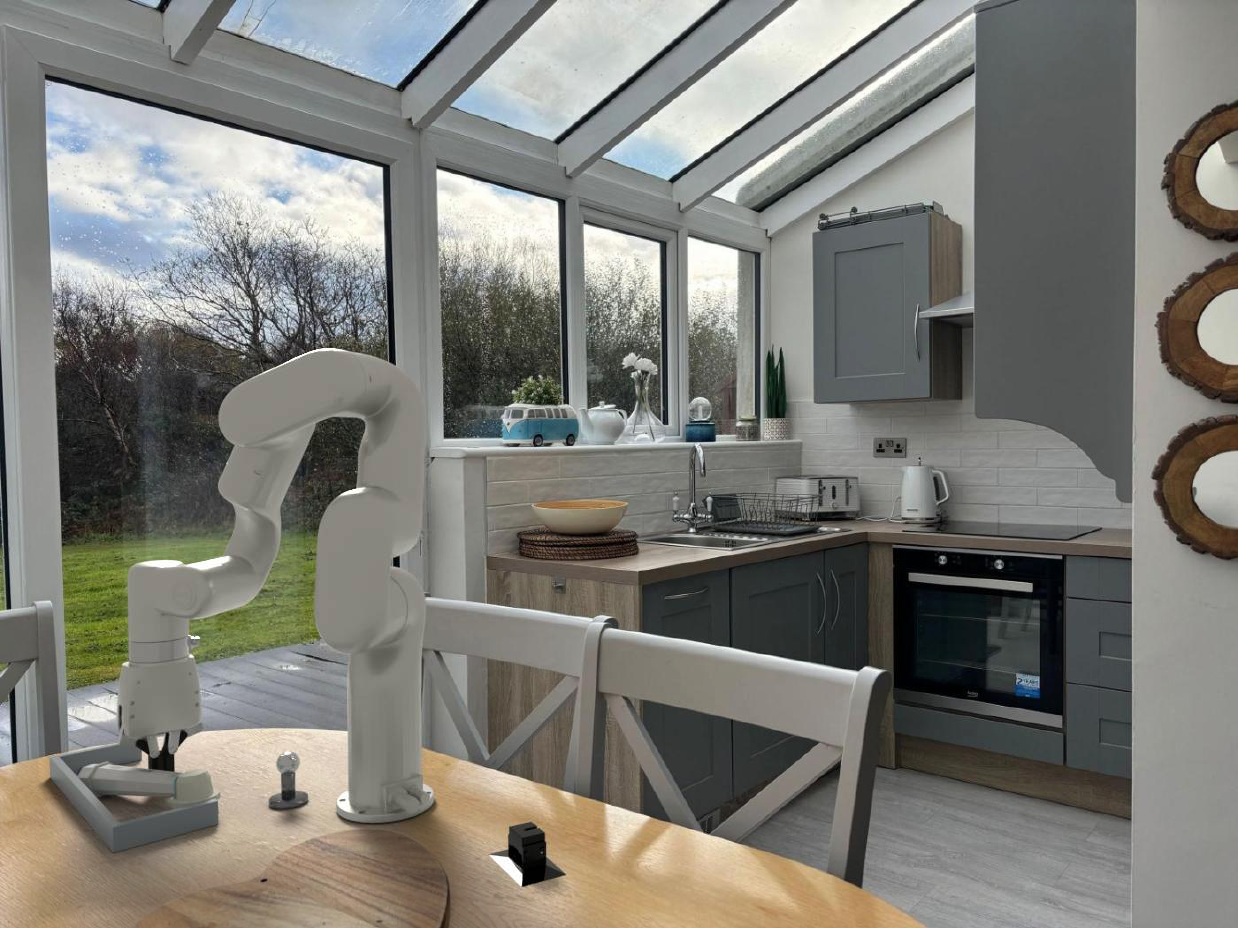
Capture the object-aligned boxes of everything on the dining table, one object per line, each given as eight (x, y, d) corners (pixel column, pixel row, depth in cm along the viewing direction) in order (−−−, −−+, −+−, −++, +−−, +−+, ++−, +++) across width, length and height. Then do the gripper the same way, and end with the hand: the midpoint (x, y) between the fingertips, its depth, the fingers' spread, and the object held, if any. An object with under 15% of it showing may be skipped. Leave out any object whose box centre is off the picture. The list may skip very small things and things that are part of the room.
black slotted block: (579, 884, 102) (579, 843, 102) (519, 901, 98) (519, 858, 98) (532, 841, 113) (531, 804, 112) (475, 855, 109) (475, 816, 109)
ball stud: (314, 802, 124) (313, 751, 124) (277, 812, 121) (276, 760, 120) (298, 792, 128) (298, 743, 127) (262, 801, 124) (262, 751, 124)
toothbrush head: (103, 757, 131) (225, 758, 120) (108, 804, 131) (231, 810, 120) (67, 769, 127) (190, 771, 116) (72, 818, 126) (196, 825, 115)
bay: (218, 824, 117) (217, 800, 117) (113, 852, 109) (112, 827, 109) (140, 757, 142) (139, 738, 142) (49, 777, 134) (49, 756, 134)
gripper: (206, 638, 136) (208, 762, 136) (92, 654, 126) (94, 788, 126) (224, 646, 130) (226, 775, 130) (106, 663, 120) (108, 803, 120)
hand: (161, 781), depth 128 cm, fingers closed
